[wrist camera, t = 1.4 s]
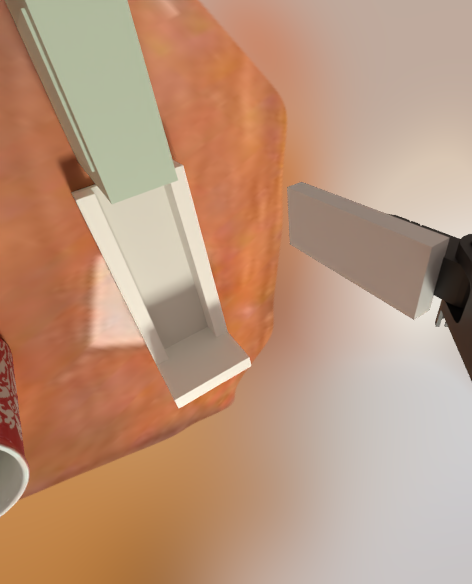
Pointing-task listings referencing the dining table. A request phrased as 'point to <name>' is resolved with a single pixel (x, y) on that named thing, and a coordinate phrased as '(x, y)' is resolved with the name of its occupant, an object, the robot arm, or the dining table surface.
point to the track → (166, 283)
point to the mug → (10, 436)
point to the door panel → (98, 90)
